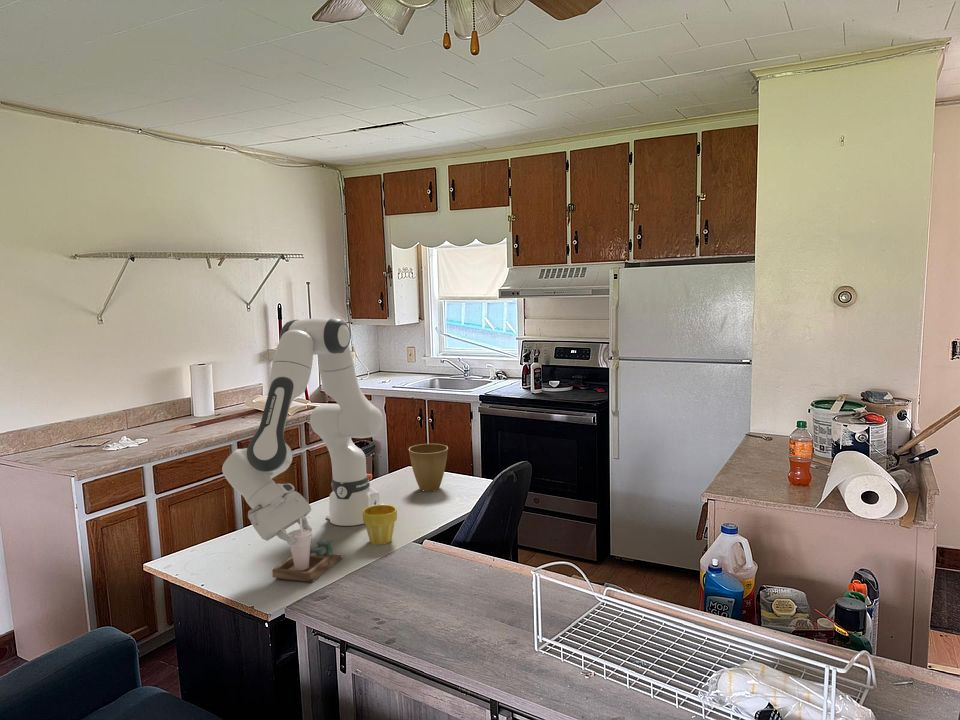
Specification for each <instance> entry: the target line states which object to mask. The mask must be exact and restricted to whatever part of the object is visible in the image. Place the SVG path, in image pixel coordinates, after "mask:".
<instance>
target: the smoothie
mask: <svg viewBox="0 0 960 720" xmlns="http://www.w3.org/2000/svg"><path fill="white" fill-rule="evenodd" d="M287 533H288V534H289V535H291V536H292V535H294V536H295V538H296V539H297V541H296V542H295V543H294V544H292V545H289V547H290V551H291V556H292V557H293V562H294V567H295V570H305V569H307V568H309V556H310V548H311V542H312V541H311V537H312V536H313V534H312V531H310V530H307V529H303V528H302V518H301V517H300V525H299V528H298V529H294V530H292V531H290V532H287Z"/></svg>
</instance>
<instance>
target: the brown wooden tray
mask: <svg viewBox="0 0 960 720" xmlns="http://www.w3.org/2000/svg"><path fill="white" fill-rule="evenodd" d="M340 560H342V554H336V553H335V554H334V553H333V543H332V541H331V540H319V541H318V542H317V543H316V547H315V546H310V556H309V568H307V569H305V570H295V567H294V562H293V557H292V555H291V556H290V557H288V558H287V559H285V560H284V561H282V562H281V563H279V564H278V566H276V567H275V568H273V569H272V570H271V573H272V575H271V576H272V578H276V579H277V580H278V579H279V580H288V581H289V580H290V581H296V582H297V581H298V582H307V583H313V582H315V581H316V580H317V579H318V578H319V577H321V576H322V575H323V574H324V573H326V572H327V571H328V570H329V569H330V568H332V567H333V566H334V565H335V564H337V562H339V561H340ZM331 566H332V567H331Z"/></svg>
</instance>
